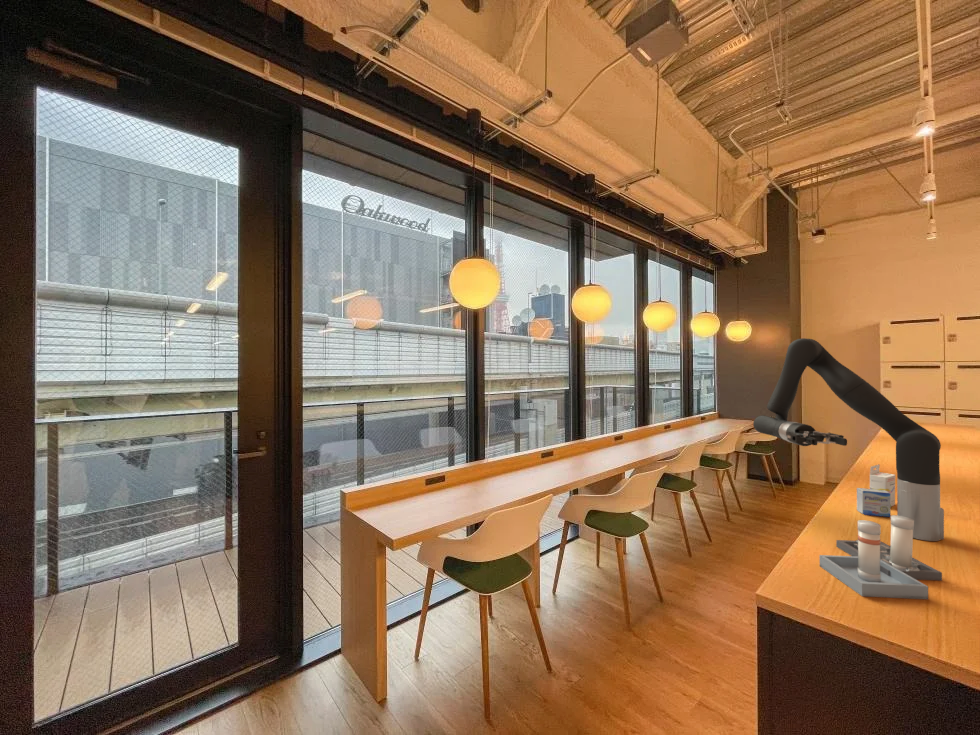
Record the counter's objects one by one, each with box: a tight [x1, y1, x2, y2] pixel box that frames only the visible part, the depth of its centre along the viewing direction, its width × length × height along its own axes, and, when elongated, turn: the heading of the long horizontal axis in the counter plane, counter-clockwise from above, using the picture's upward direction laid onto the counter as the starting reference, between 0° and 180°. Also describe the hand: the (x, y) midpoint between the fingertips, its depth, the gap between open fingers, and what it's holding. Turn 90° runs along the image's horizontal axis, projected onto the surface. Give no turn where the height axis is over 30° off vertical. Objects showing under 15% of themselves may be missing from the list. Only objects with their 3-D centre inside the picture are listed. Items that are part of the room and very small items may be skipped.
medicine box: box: [856, 487, 891, 518], centre depth 143 cm, size 8×4×9 cm, turn 68°
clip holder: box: [835, 539, 943, 581], centre depth 109 cm, size 12×18×2 cm
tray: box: [819, 554, 929, 600], centre depth 100 cm, size 14×14×3 cm
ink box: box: [869, 464, 896, 508], centre depth 152 cm, size 9×5×15 cm, turn 117°
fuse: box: [889, 514, 914, 569], centre depth 104 cm, size 4×4×14 cm
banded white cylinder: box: [857, 519, 882, 583], centre depth 100 cm, size 4×4×14 cm
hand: (830, 442), depth 124 cm, fingers open, 8 cm apart
